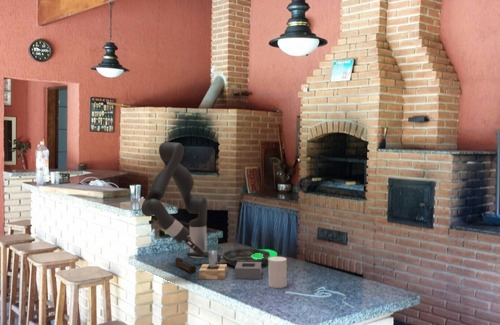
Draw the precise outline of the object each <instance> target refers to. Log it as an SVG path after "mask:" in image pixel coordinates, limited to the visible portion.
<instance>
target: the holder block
mask: <svg viewBox="0 0 500 325" xmlns="http://www.w3.org/2000/svg"><path fill="white" fill-rule="evenodd" d="M234 278H235V280H243V279H245V280H261V279H262V265H261V262H237V264H236V266H234Z"/></svg>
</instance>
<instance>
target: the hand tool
mask: <svg viewBox="0 0 500 325" xmlns="http://www.w3.org/2000/svg"><path fill="white" fill-rule="evenodd" d="M174 262H175V266H176V267H177V268H180V269H183V270H185V271H187V272H188V273H189V274H195V273H196V271H197V266H196V265H192V264H190V263H188V262H186V261H184V259H183V258H180V257H175V261H174Z"/></svg>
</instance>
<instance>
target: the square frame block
mask: <svg viewBox="0 0 500 325" xmlns="http://www.w3.org/2000/svg"><path fill="white" fill-rule="evenodd" d="M227 272H228V263H217V269H209V263H202V265H201V267H200V268H199V270H198V280H225V278H226V276H227V274H228V273H227Z"/></svg>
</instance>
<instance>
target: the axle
mask: <svg viewBox="0 0 500 325" xmlns="http://www.w3.org/2000/svg"><path fill="white" fill-rule="evenodd" d="M208 253H209V257H208V264H209V269H217V264H218V261H217V254H218V250H215V249H210V250H209V251H208Z"/></svg>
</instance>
